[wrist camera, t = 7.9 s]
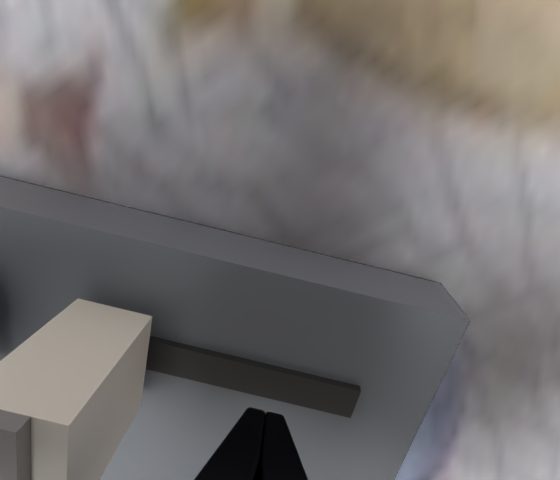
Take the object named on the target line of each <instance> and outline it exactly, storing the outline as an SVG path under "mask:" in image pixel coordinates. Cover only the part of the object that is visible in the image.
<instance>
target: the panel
mask: <svg viewBox="0 0 560 480" xmlns="http://www.w3.org/2000/svg"><path fill="white" fill-rule="evenodd" d="M78 298H79V299H83V300H87V301H91V302H95V303H99V304H104V305H108V306H112V307H116V308H120V309H124V310H129V311H133V312H137V313H141V314H145V315H149V316H152V323H151V331H150V339H149V347H148V354H147V362H146V370H145V378H144V386H143V393H142V401H141V407H140V409H139V411H138V412H137V414H136V416H135V418H134V419H133V421H132V423H131V425H130V426H129V428H128V430H127V432H126V433H125V435H124V437H123V439H122V441H121V442H120V444H119V446H118V448H117V449H116V451H115V453H114V455H113V456H112V458H111V460H110V462H109V463H108V465H107V467H106V469H105V470H104V472H103V474H102V476H101V478H100V479H99V480H194V479H195V477H196V476H197V475H198V473H199V472H200V471H201V469H202V468H203V467H204V465H205V464H206V463H207V461H208V460H209V459H210V457H211V456H212V455H213V453H214V452H215V451H216V449H217V448H218V447H219V445H220V444H221V443H222V441H223V440H224V439H225V437H226V436H227V435H228V433H229V432H230V431H231V429H232V428H233V427H234V425H235V424H236V423H237V421H238V420H239V419H240V417H241V416H242V414H243V413H244V412H245V410H246V409H247V408H249V407H251V408H256V409H260V410H264V411H265V414H266V413H267V412H273V413H277V414H281V415H283V416H284V418H285V420H286V423H287V425H288V428H289V430H290V433H291V436H292V438H293V441H294V444H295V446H296V449H297V452H298V454H299V457H300V459H301V462H302V465H303V467H304V470H305V473H306V475H307V478H308V480H394V479H395V477H396V475H397V473H398V471H399V469H400V467H401V465H402V462H403V460H404V458H405V456H406V454H407V452H408V450H409V448H410V446H411V444H412V441H413V439H414V437H415V435H416V433H417V431H418V429H419V427H420V425H421V423H422V421H423V418H424V416H425V414H426V412H427V410H428V408H429V406H430V404H431V402H432V400H433V397H434V395H435V393H436V391H437V389H438V387H439V385H440V383H441V381H442V379H443V376H444V374H445V372H446V370H447V368H448V366H449V364H450V362H451V360H452V358H453V355H454V353H455V351H456V349H457V347H458V345H459V343H460V341H461V339H462V337H463V335H464V332H465V330H466V328H467V326H468V324H469V322H470V320H469V318H468V317H467V316H466V315H465V313H464V312H463V311H462V310H461V308H460V307H459V306H458V304H457V303H456V302H455V301H454V299H453V298H452V297H451V296H450V294H449V293H448V292H447V291H446V289H445V288H444V287H443V285H442V284H441V283H437V282H433V281H429V280H425V279H421V278H417V277H413V276H409V275H404V274H400V273H396V272H392V271H388V270H384V269H380V268H376V267H372V266H367V265H363V264H359V263H355V262H351V261H347V260H343V259H339V258H335V257H330V256H326V255H322V254H318V253H314V252H310V251H306V250H302V249H298V248H293V247H289V246H285V245H281V244H277V243H273V242H269V241H265V240H261V239H256V238H252V237H248V236H244V235H240V234H236V233H232V232H228V231H224V230H219V229H215V228H211V227H207V226H203V225H199V224H195V223H191V222H186V221H182V220H178V219H174V218H170V217H166V216H162V215H158V214H154V213H149V212H145V211H141V210H137V209H133V208H129V207H125V206H121V205H117V204H112V203H108V202H104V201H100V200H96V199H92V198H88V197H84V196H80V195H75V194H71V193H67V192H63V191H59V190H55V189H51V188H47V187H43V186H38V185H34V184H30V183H26V182H22V181H18V180H14V179H10V178H6V177H1V176H0V361H1V360H2V359H3V358H5V357H6V356H7V355H8V354H10V353H11V352H12V351H13V350H15V349H16V348H17V347H18V346H20V345H21V344H22V343H23V342H24V341H26V340H27V339H28V338H29V337H31V336H32V335H33V334H34V333H36V332H37V331H38V330H39V329H41V328H42V327H43V326H44V325H46V324H47V323H48V322H49V321H51V320H52V319H53V318H54V317H55V316H57V315H58V314H59V313H60V312H62V311H63V310H64V309H65V308H67V307H68V306H69V305H70V304H72V303H73V302H74V301H75V300H77V299H78Z"/></svg>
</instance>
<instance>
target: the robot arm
mask: <svg viewBox="0 0 560 480" xmlns="http://www.w3.org/2000/svg"><path fill="white" fill-rule="evenodd" d="M194 480H308V478H307V475H306V473H305V470H304V467H303V465H302V462H301V459H300V457H299V454H298V452H297V449H296V446H295V444H294V441H293V438H292V436H291V433H290V430H289V428H288V425H287V423H286V420H285V418H284V416H283V415H281V414H277V413H273V412H267V413H266V414H265V411H264V410H260V409H256V408H251V407H249V408H247V409H246V410H245V412H244V413H243V414H242V416H241V417H240V419H239V420H238V421H237V423H236V424H235V425H234V427H233V428H232V429H231V431H230V432H229V433H228V435H227V436H226V437H225V439H224V440H223V441H222V443H221V444H220V445H219V447H218V448H217V449H216V451H215V452H214V453H213V455H212V456H211V457H210V459H209V460H208V461H207V463H206V464H205V465H204V467H203V468H202V469H201V471H200V472H199V473H198V475H197V476H196V477H195V479H194Z"/></svg>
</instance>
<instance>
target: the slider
mask: <svg viewBox="0 0 560 480" xmlns="http://www.w3.org/2000/svg"><path fill="white" fill-rule="evenodd" d="M151 323H152V316H149V315H145V314H141V313H137V312H133V311H129V310H124V309H120V308H116V307H112V306H108V305H104V304H99V303H95V302H91V301H87V300H83V299H79V298H78V299H77V300H75V301H74V302H73V303H72V304H70V305H69V306H68V307H67V308H65V309H64V310H63V311H62V312H60V313H59V314H58V315H57V316H55V317H54V318H53V319H52V320H51V321H49V322H48V323H47V324H46V325H44V326H43V327H42V328H41V329H39V330H38V331H37V332H36V333H34V334H33V335H32V336H31V337H29V338H28V339H27V340H26V341H24V342H23V343H22V344H21V345H20V346H18V347H17V348H16V349H15V350H13V351H12V352H11V353H10V354H8V355H7V356H6V357H5V358H3V359H2V360H1V361H0V480H99V479H100V478H101V476H102V474H103V472H104V470H105V469H106V467H107V465H108V463H109V462H110V460H111V458H112V456H113V455H114V453H115V451H116V449H117V448H118V446H119V444H120V442H121V441H122V439H123V437H124V435H125V433H126V432H127V430H128V428H129V426H130V425H131V423H132V421H133V419H134V418H135V416H136V414H137V412H138V411H139V409H140V407H141V401H142V393H143V386H144V378H145V370H146V362H147V354H148V347H149V339H150V331H151Z"/></svg>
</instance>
